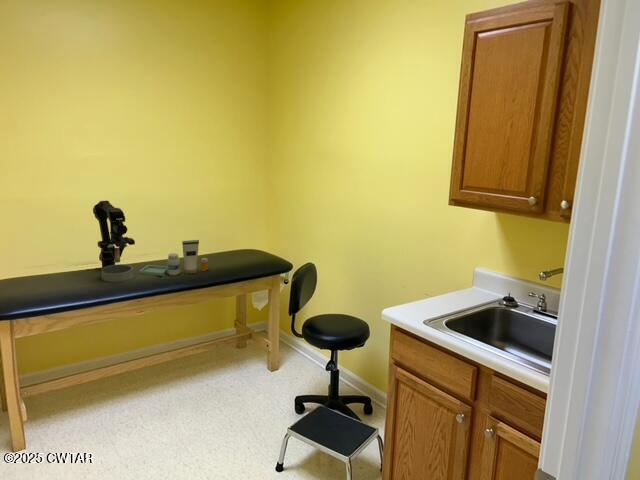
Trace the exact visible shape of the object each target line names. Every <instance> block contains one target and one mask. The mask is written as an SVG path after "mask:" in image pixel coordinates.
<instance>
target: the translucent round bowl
mask: <svg viewBox="0 0 640 480" xmlns="http://www.w3.org/2000/svg"><path fill="white" fill-rule="evenodd" d="M100 271H101V280H102V281H105V282H113V283H117V282H125V281H128V280H131V279H132V278H134V267H133V266H132V265H129V264H119V263H117V264H115V265H110V266H105V267H104V268H102V267H101V269H100Z"/></svg>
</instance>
